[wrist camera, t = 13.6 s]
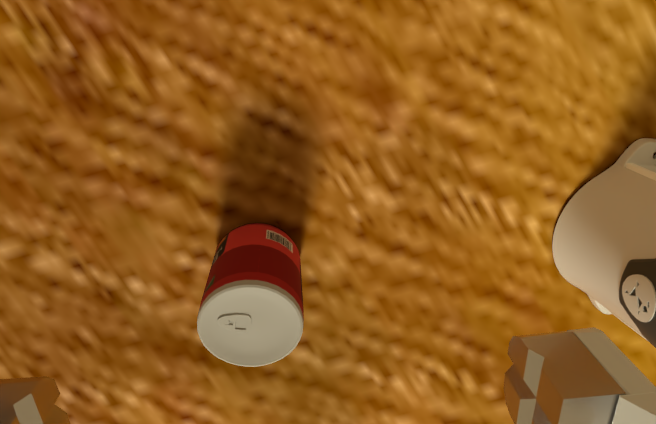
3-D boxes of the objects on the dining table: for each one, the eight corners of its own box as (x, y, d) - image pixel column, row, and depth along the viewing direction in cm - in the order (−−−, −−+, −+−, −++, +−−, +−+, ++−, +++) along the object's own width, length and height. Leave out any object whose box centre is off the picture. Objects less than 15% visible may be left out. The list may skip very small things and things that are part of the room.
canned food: (208, 225, 44) (186, 291, 34) (295, 215, 45) (297, 277, 35) (223, 295, 48) (207, 374, 38) (304, 285, 48) (309, 361, 38)
